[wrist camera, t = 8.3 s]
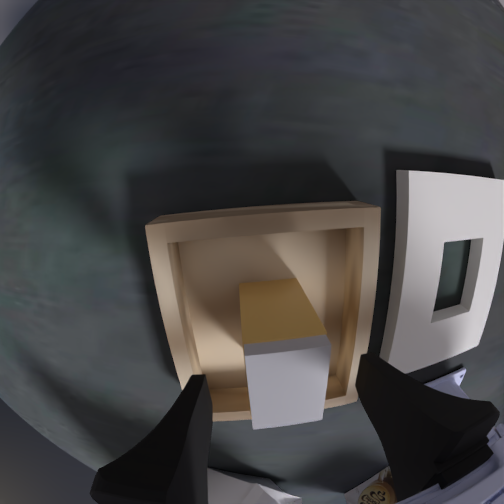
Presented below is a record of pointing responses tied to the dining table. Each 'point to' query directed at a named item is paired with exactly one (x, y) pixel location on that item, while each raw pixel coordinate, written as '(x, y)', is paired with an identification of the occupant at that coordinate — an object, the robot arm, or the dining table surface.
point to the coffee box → (374, 490)
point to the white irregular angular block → (244, 489)
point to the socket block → (429, 265)
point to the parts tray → (264, 269)
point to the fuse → (283, 353)
